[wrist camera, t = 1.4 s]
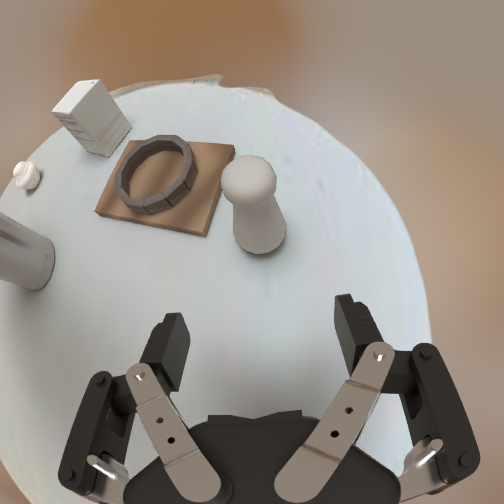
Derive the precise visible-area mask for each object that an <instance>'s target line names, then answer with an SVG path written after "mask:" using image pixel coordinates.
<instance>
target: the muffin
mask: <svg viewBox="0 0 504 504" xmlns="http://www.w3.org/2000/svg"><path fill="white" fill-rule="evenodd" d="M13 175H14V177H15V178H16V185H17V187H19V188H22V189H34V188H35V187H36V186H37V185H38V183H39V181H40V175H39V172H38V169H37V167H36V165H35V163H34V162H32V161H30V162H25V163H24V162H19V163H18V164H17V165H16V167H15V169H14V171H13Z"/></svg>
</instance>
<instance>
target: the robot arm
mask: <svg viewBox="0 0 504 504" xmlns="http://www.w3.org/2000/svg"><path fill="white" fill-rule="evenodd" d="M53 266H54V247H53V244H52V243H51V241H50V240H49V239H47V238H45V237H43V236H41V235H39V234H38V233H36V232H34V231H32V230H31V229H29V228H27V227H25V226H23V225H22V224H20V223H18V222H16V221H15V220H13V219H11V218H10V217H8V216H6V215H5V214H3V213H1V212H0V279H1V280H4V281H7V282H10V283H13V284H16V285H18V286H21V287H25V288H28V289H31V290H35V291H36V290H40V289H41V288H43V287H44V286H45V284H46V283H47V281H48V280H49V278H50V276H51V273H52V270H53ZM334 324H335V329H336V333H337V336H338V339H339V342H340V346H341V349H342V352H343V355H344V359H345V362H346V366H347V369H348V372H349V376H350V379H349V380H346V381H345V383H344V384H343V386H342V387H341V389H340V391H339V392H338V394H337V396H336V397H335V399H334V401H333V402H332V404H331V405H330V407H329V408H328V410H327V411H326V413H325V415H324V416H323V418H322V419H321V420H319V419H317V418H314V417H309V416H302V410H295V411H287V412H278V413H274V414H271V415H268V416H264V417H261V418H257V419H249V418H243V417H238V416H233V415H208V421H206V422H203V423H200V424H198V425H195V426H193V427H192V428H189V426H188V425H187V423H186V422H185V420H184V419H183V417H182V416H181V414H180V413H179V411H178V410H177V408H176V406H175V405H174V403H173V401H172V400H171V398H170V397H169V396H170V392H171V391H172V392H178V391H179V387H180V383H181V379H182V374H183V370H184V366H185V362H186V358H187V354H188V350H189V346H190V334H189V331H188V329H187V326H186V324H185V321H184V319H183V316H182V314H181V313H167V314H166V315H165V318H164V320H163V322H162V323H158V324H157V325H156V327H155V328H154V329H153V330H152V332H151V335H150V338H149V340H148V344H147V345H146V347H145V349H144V352H143V354H142V357H141V359H140V362H139V363H138V364H135V365H133V366H132V367H130V368H129V370H128V371H127V373H126V374H125V375H121V376H116V377H112V375H111V374H110V373H109V372H107V371H100V372H98V373H96V374H95V375H93V377H92V378H91V380H90V382H89V384H88V387H87V389H86V392H85V394H84V397H83V399H82V402H81V404H80V407H79V410H78V412H77V415H76V418H75V420H74V423H73V426H72V429H71V432H70V435H69V438H68V441H67V444H66V447H65V450H64V454H63V457H62V460H61V464H60V467H59V471H58V478H59V481H60V483H61V484H62V485H63V486H64V487H65V488H67V489H69V490H71V491H73V492H75V493H76V494H78V495H80V496H82V497H84V498H86V499H88V500H90V501H93V502H97V503H99V504H399V503H400V502H404V501H407V500H410V499H413V498H416V497H418V496H421V495H424V494H429V495H434V494H437V493H440V492H442V491H443V490H445V489H447V488H449V487H451V486H453V485H455V484H456V483H458V482H460V481H461V480H463V479H465V478H466V477H468V476H470V475H471V474H472V473H474V472H475V470H476V469H477V467H478V466H479V462H480V453H479V449H478V446H477V443H476V440H475V437H474V434H473V431H472V428H471V425H470V422H469V420H468V417H467V414H466V412H465V409H464V407H463V404H462V402H461V399H460V397H459V394H458V392H457V390H456V387H455V385H454V383H453V380H452V378H451V376H450V374H449V372H448V370H447V367H446V365H445V363H444V361H443V359H442V357H441V355H440V353H439V351H438V349H437V348H436V347H435V346H433V345H432V344H429V343H420V344H418V345H416V346H415V347H414V348H413V350H412V351H397V350H394V349H393V347H392V346H391V345H389V344H387V343H385V342H384V341H383V338H382V336H381V334H380V332H379V330H378V328H377V326H376V324H375V322H374V320H373V317H372V316H371V313H370V311H369V309H368V307H367V306H365V305H364V304H363V303H362V302H355V303H354V301H353V299H352V297H351V295H350V294H343V295H337V296H335V309H334ZM381 393H387V394H399V396H400V399H401V403H402V406H403V410H404V413H405V417H406V420H407V424H408V428H409V432H410V436H411V440H412V444H413V448H412V450H411V451H410V452H409V453H408V454H407V455H406V457H405V460H404V470H403V473H402V475H401V476H400V477H397V476H396V475H395V474H394V473H393V472H392V471H391V470H389V469H388V468H386V467H385V466H383V465H382V464H380V463H379V462H378V461H376V460H375V459H373V458H372V457H371V456H369V455H368V454H366V453H365V452H364V451H362V450H361V449H360V448H358V447H357V446H355V444H356V443H357V441H358V439H359V437H360V436H361V434H362V432H363V430H364V428H365V426H366V424H367V422H368V420H369V418H370V416H371V414H372V412H373V410H374V408H375V406H376V404H377V402H378V399H379V397H380V395H381ZM109 409H110V410H109ZM108 412H109V413H108ZM135 413H138V415H139V417H140V419H141V421H142V423H143V425H144V427H145V430H146V432H147V434H148V436H149V438H150V439H151V441H152V443H153V445H154V447H155V449H156V451H157V453H158V454H159V456H158V457H157V458H156V459H155V460H154V461H152V462H151V463H150V464H149V465H148V466H146V467H145V468H144V469H143V470H142V471H140V472H139V473H138V474H137V475H135V476H134V477H133V478H132V479H131V480H130V479H129V477H128V471H127V469H126V467H125V466H124V461H125V456H126V452H127V447H128V442H129V438H130V433H131V429H132V425H133V421H134V417H135ZM107 415H108V416H107ZM106 418H107V419H106Z"/></svg>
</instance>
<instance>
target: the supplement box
mask: <svg viewBox="0 0 504 504" xmlns="http://www.w3.org/2000/svg"><path fill="white" fill-rule="evenodd" d="M52 114H53V115H54V116H55V117H56V118H57V119H58V120H59V121H60V122H61V124H63V126H64V127H65V128H66V129H67V130H68V131H69V132H70V133H71V134H72V135H73V137H74V138H75V139H76V140H77V141H78V142H79V143H80V144H81V145H82V146H83V147H84V148H85V149H86V150H87V151H88V152H92V153H95V154H98V155H102V156H105V157H110V155H111V154H112V153H113V151H114V150H115V148H116V147H117V146H118V144H119V143H120V142H121V140H122V139H123V138H124V136H125V135H126V134H127V133H128V131H129V130H130V129H131V128H132V126H131V125H130V123H129V122H128V121H127V119H126V118H125V116H124V115H123V113H122V112H121V110H120V109H119V107H118V106H117V104H116V103H115V101H114V100H113V98H112V97H111V95H110V94H109V92H108V91H107V90H106V88H105V86H104V85H103V83H102V82H101V81H100V80H87V81H79V82H77V83H76V84H75V85H74V86H73V87H72V88H71V89H70V90H69V92H68V93H67V94H66V95H65V96H64V97H63V98H62V99H61V101H60V102H59V103H58V104H57V105H56V106H55V108H54V109H53V110H52Z"/></svg>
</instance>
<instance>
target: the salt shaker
mask: <svg viewBox="0 0 504 504" xmlns="http://www.w3.org/2000/svg"><path fill="white" fill-rule="evenodd" d="M221 187H222V190H223V193H224V196H225V197H226V199H227V200H228V201H230V202H231V203H232V204H233V233H234V236H235V239H236V242H237V243H238V244H239V245H240V246H241V247H242V248H243V249H245V250H246V251H249V252H252V253H255V254H262V253H268V252H270V251H272V250H274V249H275V248H277V247H279V245H280V244H281V242H282V240H283V239H284V237H285V235H286V222H285V219H284V217H283V215H282V213H281V210H280V208H279V206H278V204H277V202H276V199H275V197H274V195H273V194H274V193H275V190H276V174H275V172H274V170H273V168H272V166H271V164H270V163H269V162H267V161H266V160H265V159H263V158H262V157H258V156H252V155H248V156H242V157H238V158H236V159H235V160H233V161H231V162H229V164H228V165H227V166H226V167H225V169H224V170H223V171H222V176H221Z"/></svg>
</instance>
